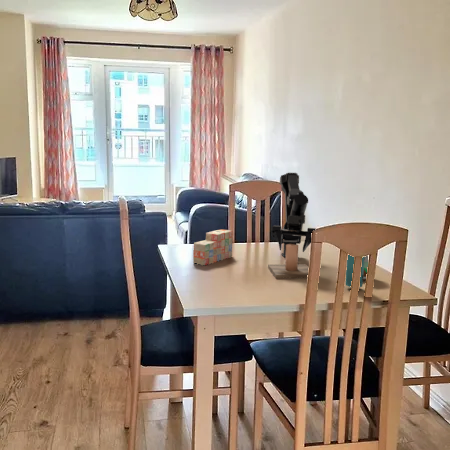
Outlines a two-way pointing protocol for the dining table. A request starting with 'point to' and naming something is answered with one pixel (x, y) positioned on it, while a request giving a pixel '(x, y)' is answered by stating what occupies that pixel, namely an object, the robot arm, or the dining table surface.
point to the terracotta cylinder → (291, 257)
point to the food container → (365, 267)
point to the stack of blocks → (213, 247)
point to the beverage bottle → (350, 271)
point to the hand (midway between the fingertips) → (291, 250)
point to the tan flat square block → (281, 273)
